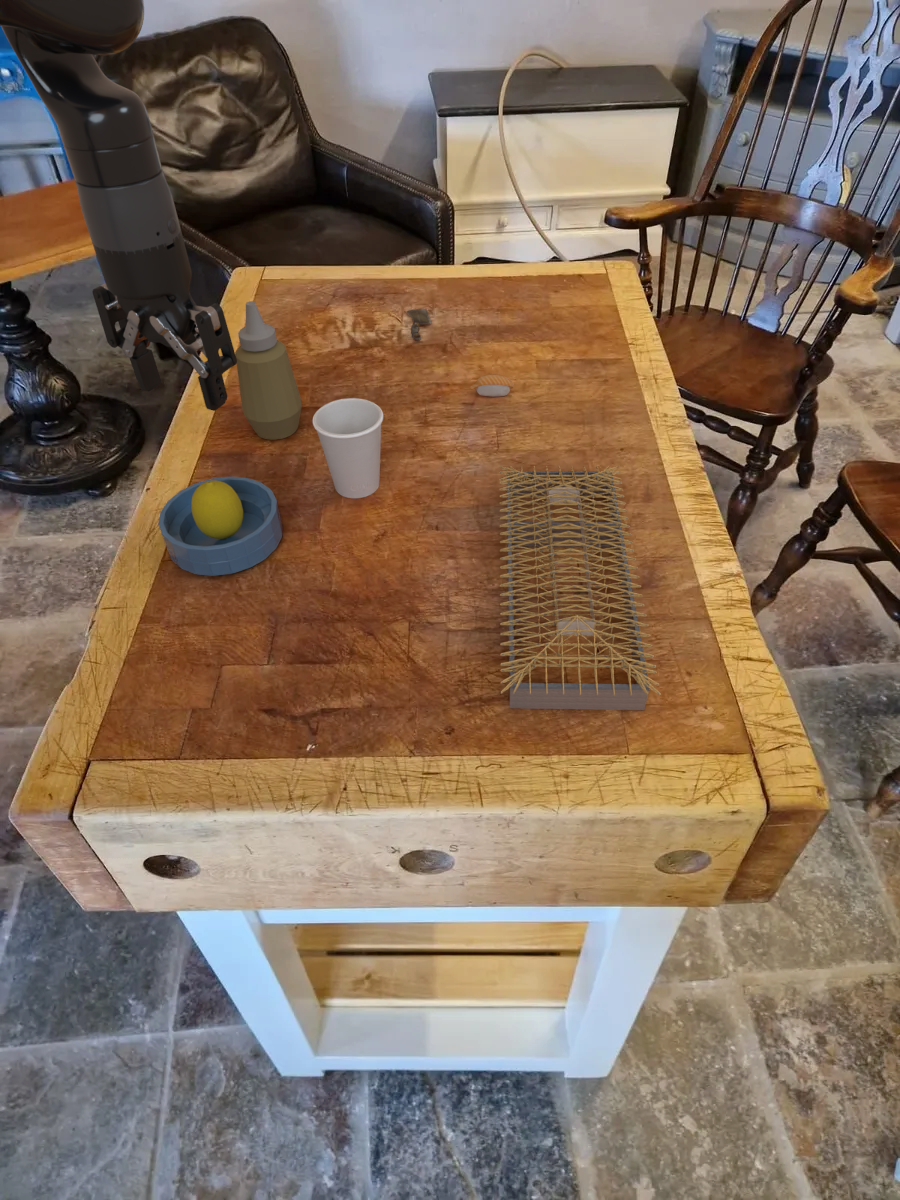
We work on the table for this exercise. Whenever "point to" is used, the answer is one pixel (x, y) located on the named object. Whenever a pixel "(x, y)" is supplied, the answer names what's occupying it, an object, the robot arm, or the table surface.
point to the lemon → (217, 509)
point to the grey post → (418, 321)
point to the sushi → (493, 385)
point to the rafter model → (572, 534)
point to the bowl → (230, 553)
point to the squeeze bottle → (266, 379)
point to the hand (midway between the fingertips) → (184, 396)
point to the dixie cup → (351, 444)
